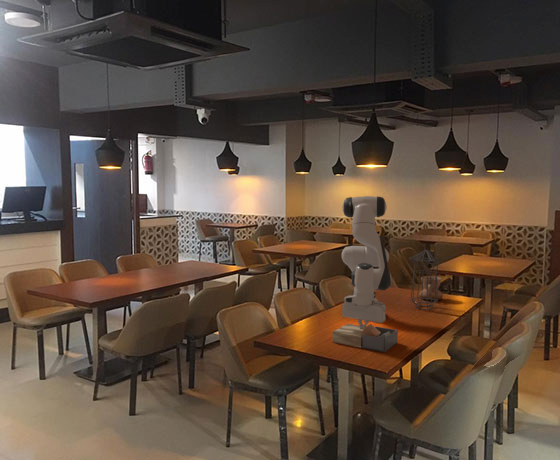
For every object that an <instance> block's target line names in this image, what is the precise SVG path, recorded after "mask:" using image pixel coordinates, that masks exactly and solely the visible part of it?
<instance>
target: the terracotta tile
mask: <svg viewBox="0 0 560 460" xmlns="http://www.w3.org/2000/svg"><path fill="white" fill-rule="evenodd" d="M362 332H363V333H364V334H365V335H369V336H374V337H378V336H379V335H380V334H381V332H380V331H379V330H377V329H376V328H375V326H374V325H373V324H372V323H370V324H367V325H366V327H365V329H364V330H363V331H362Z"/></svg>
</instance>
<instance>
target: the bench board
mask: <svg viewBox="0 0 560 460" xmlns="http://www.w3.org/2000/svg"><path fill="white" fill-rule="evenodd" d="M362 331H363V329H360V325H359V324H358V325H357V324H352V323H346V324H344V325H342V326H340V327H339V328H337V329H335V330H333V331H332V343H335V344H340V345H345V346H350V347H355V348H361V349H362V334H363V335H365V334H364V333H363V332H362Z"/></svg>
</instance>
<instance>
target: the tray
mask: <svg viewBox="0 0 560 460" xmlns="http://www.w3.org/2000/svg"><path fill="white" fill-rule="evenodd" d="M374 327H375V328H376V329H377V330H379V331H380V332H381V334H380V335H379V336H381V335H383V334H384V333H386V332H388V331H389V332H390V335H388V336H387V337H385V338H380V337H379V336H378V337H374V336H369V335H363V334H362V347H361V349H365V350H369V351H376V352H380V353H386V352H387V351H389V350H390V349H391V348H393V347H394V346H396V345H397V344H398V332H399V331H398V329H392V328H386V327H381V326H374Z"/></svg>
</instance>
